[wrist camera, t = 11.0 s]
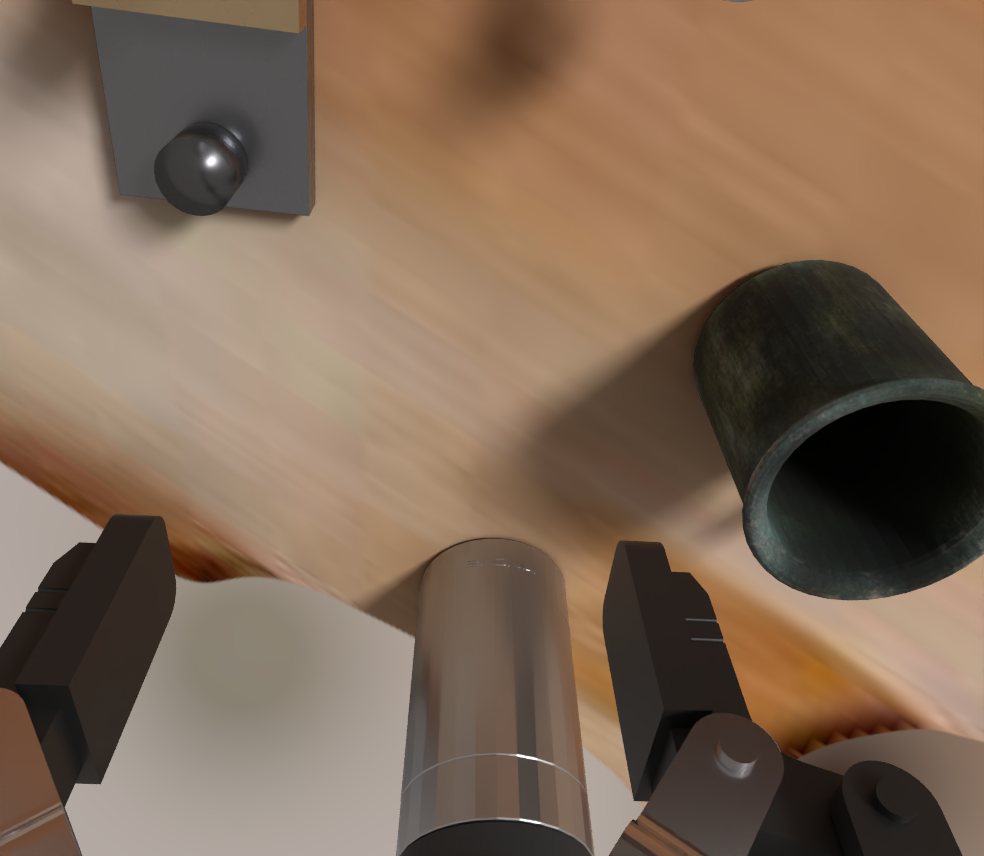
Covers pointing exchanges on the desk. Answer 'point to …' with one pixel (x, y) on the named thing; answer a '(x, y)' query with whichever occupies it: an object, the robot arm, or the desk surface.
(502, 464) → the desk surface
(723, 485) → the desk surface
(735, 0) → the molecular model
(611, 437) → the desk surface
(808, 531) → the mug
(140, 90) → the two-tone base plate
